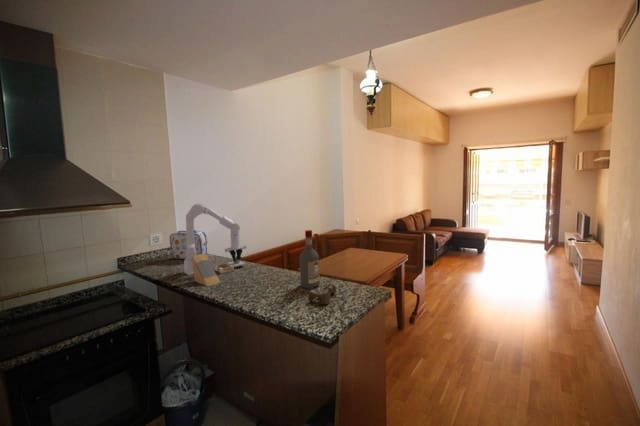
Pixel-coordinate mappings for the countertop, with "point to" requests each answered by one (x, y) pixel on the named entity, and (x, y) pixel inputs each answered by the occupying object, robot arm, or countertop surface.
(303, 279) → the liquor
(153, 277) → the countertop surface
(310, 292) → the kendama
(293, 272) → the countertop surface
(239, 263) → the lid
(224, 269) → the box
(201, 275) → the sandwich container
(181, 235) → the lunch box
